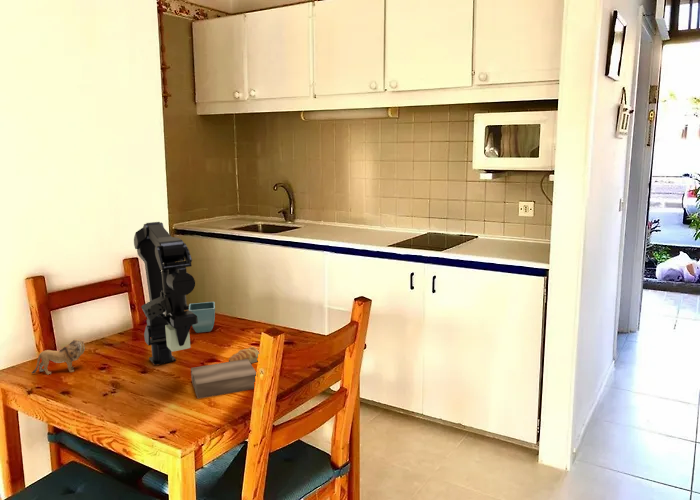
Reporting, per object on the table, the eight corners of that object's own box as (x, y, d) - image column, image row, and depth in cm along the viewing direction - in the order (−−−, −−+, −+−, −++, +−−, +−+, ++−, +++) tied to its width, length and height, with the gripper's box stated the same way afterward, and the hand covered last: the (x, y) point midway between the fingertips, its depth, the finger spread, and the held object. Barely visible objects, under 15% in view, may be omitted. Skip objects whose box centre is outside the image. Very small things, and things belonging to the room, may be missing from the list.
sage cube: (166, 346, 160) (165, 325, 159) (185, 342, 163) (183, 322, 162) (171, 351, 156) (170, 330, 155) (190, 347, 159) (188, 326, 158)
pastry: (236, 369, 172) (235, 357, 171) (223, 363, 177) (223, 351, 176) (262, 360, 178) (261, 348, 178) (249, 355, 183) (249, 343, 182)
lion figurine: (87, 364, 178) (84, 335, 176) (86, 370, 173) (83, 341, 171) (32, 371, 173) (29, 342, 171) (30, 378, 168) (26, 348, 166)
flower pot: (190, 327, 210) (189, 303, 208) (216, 325, 212) (214, 301, 210) (190, 335, 202) (188, 310, 200) (216, 333, 204) (215, 308, 202)
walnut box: (191, 382, 164) (190, 367, 163) (248, 373, 170) (247, 358, 169) (197, 400, 153) (196, 384, 152) (258, 389, 159) (257, 374, 158)
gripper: (134, 284, 160) (139, 339, 163) (151, 299, 144) (157, 359, 147) (175, 278, 166) (180, 331, 169) (196, 292, 150) (200, 350, 153)
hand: (178, 342), depth 159 cm, fingers closed on sage cube, 5 cm apart
